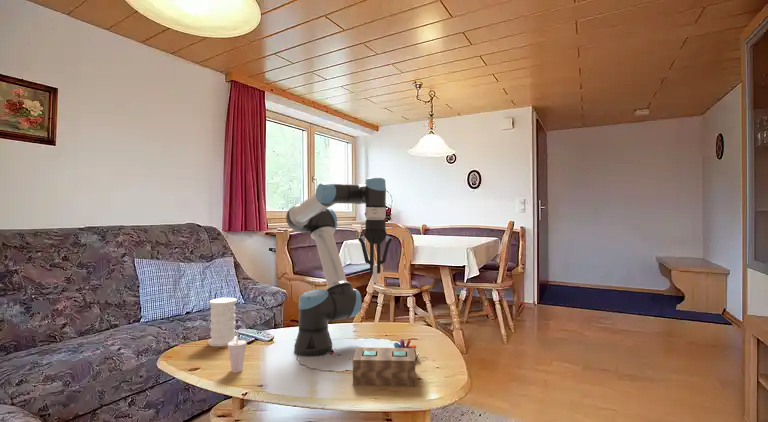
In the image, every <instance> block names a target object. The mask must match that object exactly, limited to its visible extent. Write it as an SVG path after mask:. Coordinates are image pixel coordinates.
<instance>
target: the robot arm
mask: <svg viewBox="0 0 768 422" xmlns="http://www.w3.org/2000/svg"><path fill="white" fill-rule="evenodd" d="M386 192H387V186H386V179H384V177H367V178H366V180H365V184H355V183H354V184H353V183H336V182H335V183H334V182H333V183H332V182H320V183H318V184H317V187H316V189H315V193H314V194H313V195H311V196H310V197H308V198H307V199H305V200H304V201H302V202H301V203H300V204H295V205H293V206H291V207H290V208H289V209H288V211H287V212H286V215H285V221H286V224H287V226H288V227H289V228H290V229H292V230H293V231H295V232H298V233H309V234H310V238H311V239H312V240H315V244H316V249H317V252H318V256H319V259H320V264H321V267H322V271H323V274H324V278H325V283H326V285H327V288H326V289H323V288H322V289H312V290H308V291H305V292H303V293H302V294H300V295H299V298H298V305H297V308H298V333H297V336H296V340H295V343H294V346H293V347H294V350H293V352H294V353H295V354H297V355H299V356H306V357H313V356H314V357H315V356H316V357H317V356H321V355H325V354H328V353H330V352H331V351H332V350H333V342H332V338H331V334H330V332H329V322H332V321H338V320H339V321H340V320H345V319H346V320H347V319H350V318H353V317H356V316H357V315H358V314H359V312H360V311H361V307H362V295H361V293H360V291H359V290H358V289H356V288H353V285H352V283H351V282H350V281H347V278H346V274H345V270H344V266H343V263H342V259H341V257H340V254H339V250H338V247H337V246H338V245H337V243H336V240H335V237H334V235H335V233H336V229H337V228H338V218H337V214H336V213H335V211H334V209H332V208H331V207H332V206H333V205H335V204H354V205H363V204H365V218H366V219H365V232H364V234H363V235H362V236H361V237H358V241H359V243H360V246H361V249H362V255H363V258H364V261H365V264H368V265H369V273H370V274H372V283H373V284H377V283H378V281H379V280H378V275H379V274H381V268H382V267H381V266H382V265H384V264H385V263H386V261H387V256H388V253H389V248H390V244H391V243H392V241H393V238H392V237H391V236H389V235H388V233H387V232H386V220H385V219H386V218H387V217H386V216H387V215H386V214H387V213H386V212H387V211H386V210H387V207H386V205H387V204H386V201H387V199H386V198H387V197H386V196H387V193H386ZM366 240H367V242H368V243H369V254H368V250H367V246H366ZM384 240H385V242H386V243H385V247H384V250H383V255H382V254H381V253H382V252H381V251H382V250H381V249H382V248H381V247H382V243H383V242H384ZM375 244H376V263H375ZM381 255H382V256H381Z"/></svg>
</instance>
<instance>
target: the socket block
mask: <svg viewBox="0 0 768 422" xmlns="http://www.w3.org/2000/svg"><path fill="white" fill-rule="evenodd" d="M355 349H356V350H355V353H354V355H353V357H352V386H379V387H380V386H382V387H383V386H389V387H390V386H391V387H394V386H395V387H416V357H415V353H414V348H395V347H356V348H355ZM364 351H376V356H363V355H364ZM394 351H405V352H406V357H393V355H394Z"/></svg>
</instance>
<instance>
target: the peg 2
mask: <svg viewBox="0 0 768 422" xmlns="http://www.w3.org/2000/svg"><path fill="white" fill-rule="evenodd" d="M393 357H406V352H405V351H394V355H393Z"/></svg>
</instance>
